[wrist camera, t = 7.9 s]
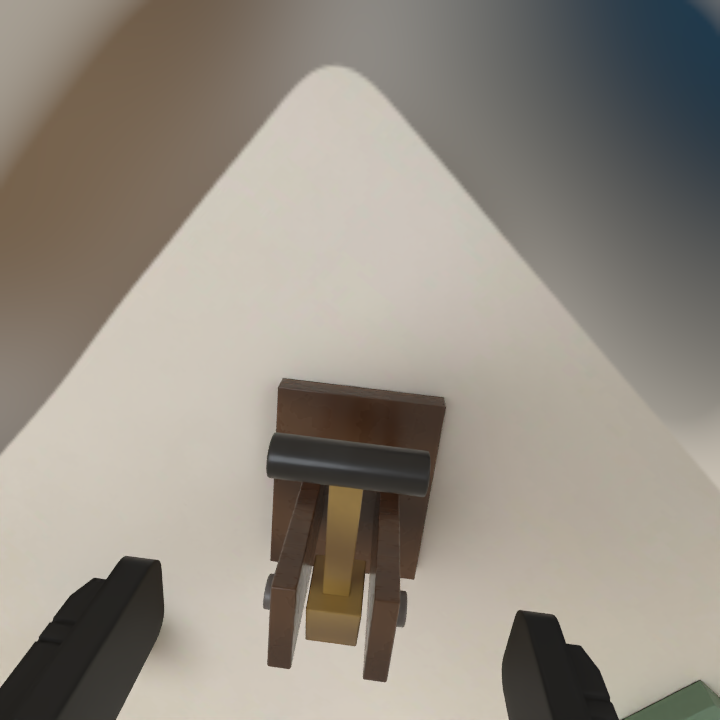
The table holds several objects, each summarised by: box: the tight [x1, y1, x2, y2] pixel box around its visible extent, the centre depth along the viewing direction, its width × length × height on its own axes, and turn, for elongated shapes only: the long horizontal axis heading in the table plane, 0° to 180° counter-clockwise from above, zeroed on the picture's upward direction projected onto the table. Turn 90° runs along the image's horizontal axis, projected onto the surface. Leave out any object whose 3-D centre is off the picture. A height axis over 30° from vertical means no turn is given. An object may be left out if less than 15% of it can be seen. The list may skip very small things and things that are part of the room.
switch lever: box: [266, 432, 431, 646], centre depth 19 cm, size 11×5×2 cm, turn 174°
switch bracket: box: [263, 378, 446, 682], centre depth 25 cm, size 12×9×11 cm
